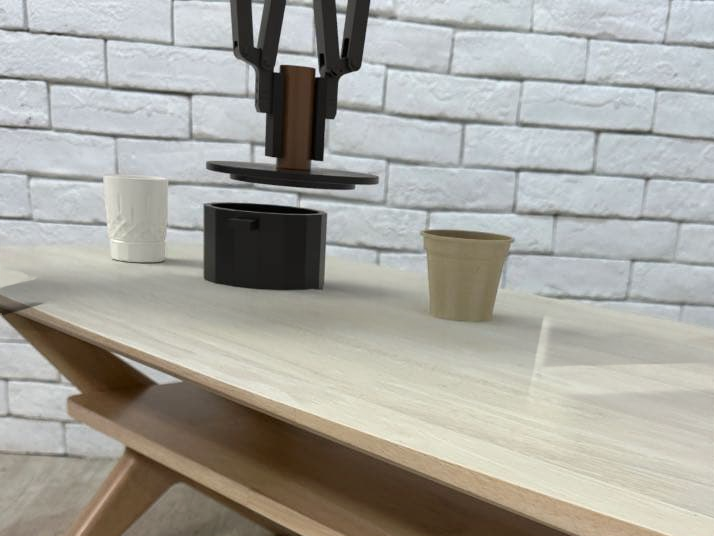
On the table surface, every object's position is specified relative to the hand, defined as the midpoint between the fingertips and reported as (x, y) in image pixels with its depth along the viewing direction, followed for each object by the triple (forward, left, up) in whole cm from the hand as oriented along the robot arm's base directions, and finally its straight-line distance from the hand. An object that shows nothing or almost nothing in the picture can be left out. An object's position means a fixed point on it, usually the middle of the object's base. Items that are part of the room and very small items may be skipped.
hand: (293, 157), depth 85 cm
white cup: (-30, +36, -15) cm, 49 cm away
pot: (-10, +25, -15) cm, 31 cm away
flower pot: (+14, +14, -15) cm, 25 cm away
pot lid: (0, 0, -1) cm, 1 cm away
